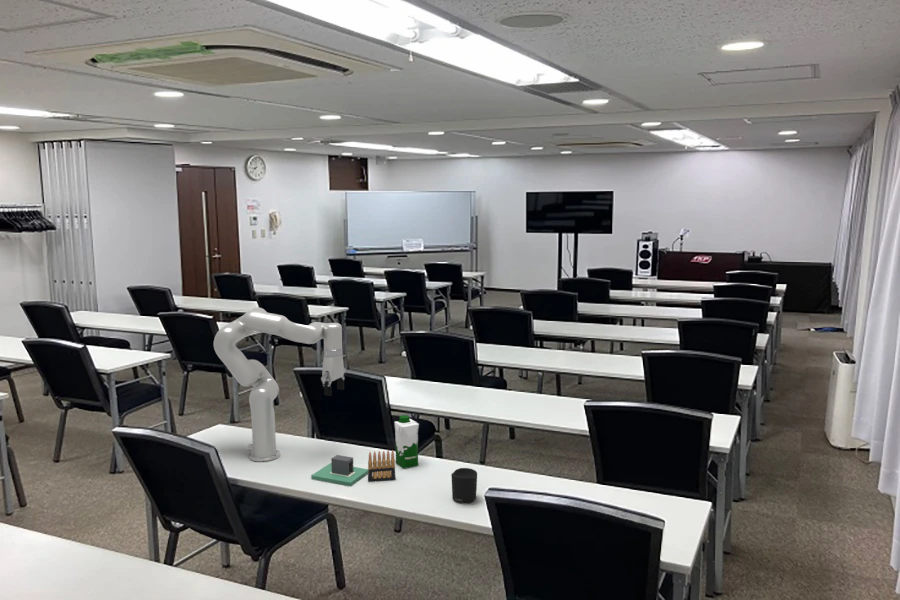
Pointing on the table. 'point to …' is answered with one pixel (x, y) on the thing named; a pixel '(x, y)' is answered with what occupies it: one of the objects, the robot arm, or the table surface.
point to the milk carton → (406, 442)
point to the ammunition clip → (381, 467)
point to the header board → (339, 476)
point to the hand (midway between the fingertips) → (334, 392)
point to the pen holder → (464, 485)
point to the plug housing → (342, 465)
